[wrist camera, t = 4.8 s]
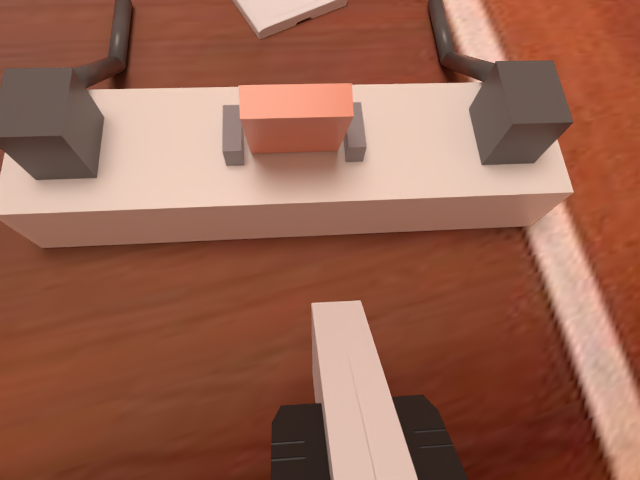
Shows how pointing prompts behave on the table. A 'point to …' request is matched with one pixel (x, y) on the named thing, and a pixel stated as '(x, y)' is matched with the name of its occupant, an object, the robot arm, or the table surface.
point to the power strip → (276, 156)
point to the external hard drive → (282, 13)
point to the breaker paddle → (295, 116)
